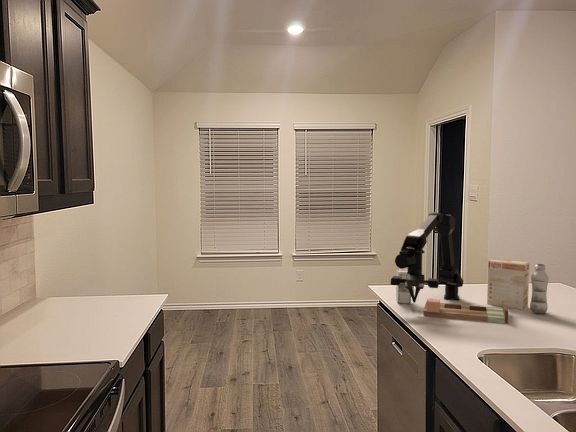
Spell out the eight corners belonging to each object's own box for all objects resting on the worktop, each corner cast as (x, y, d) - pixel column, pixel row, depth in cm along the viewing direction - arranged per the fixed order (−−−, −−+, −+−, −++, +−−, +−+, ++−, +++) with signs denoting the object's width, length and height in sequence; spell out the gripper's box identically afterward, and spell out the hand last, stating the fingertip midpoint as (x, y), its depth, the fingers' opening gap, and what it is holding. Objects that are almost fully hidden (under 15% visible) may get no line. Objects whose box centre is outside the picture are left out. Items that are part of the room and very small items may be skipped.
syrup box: (408, 300, 213) (409, 269, 212) (411, 304, 207) (411, 271, 206) (396, 300, 214) (396, 268, 212) (397, 303, 208) (398, 271, 207)
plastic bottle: (546, 311, 194) (548, 263, 193) (548, 316, 188) (550, 266, 187) (529, 309, 197) (531, 262, 195) (530, 314, 191) (531, 265, 189)
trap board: (426, 306, 204) (426, 294, 203) (504, 313, 193) (504, 301, 193) (423, 315, 190) (423, 303, 190) (507, 323, 179) (508, 310, 179)
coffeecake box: (528, 307, 201) (530, 262, 200) (523, 310, 196) (524, 264, 195) (492, 300, 212) (493, 258, 210) (486, 304, 206) (487, 260, 205)
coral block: (427, 308, 194) (427, 298, 194) (439, 309, 192) (440, 299, 192) (426, 311, 189) (426, 301, 189) (439, 312, 188) (439, 302, 187)
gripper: (388, 267, 189) (388, 305, 190) (437, 270, 182) (436, 309, 183) (392, 262, 199) (392, 298, 200) (439, 265, 192) (438, 302, 194)
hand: (414, 302), depth 194 cm, fingers closed
